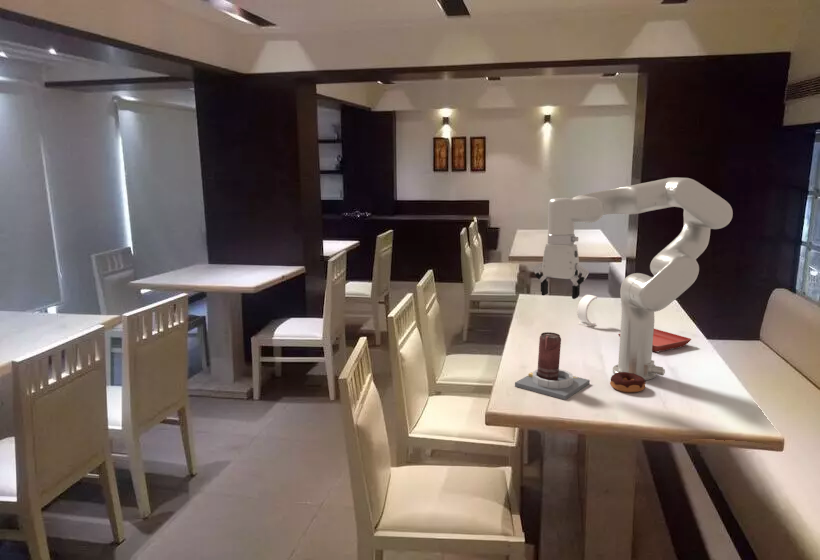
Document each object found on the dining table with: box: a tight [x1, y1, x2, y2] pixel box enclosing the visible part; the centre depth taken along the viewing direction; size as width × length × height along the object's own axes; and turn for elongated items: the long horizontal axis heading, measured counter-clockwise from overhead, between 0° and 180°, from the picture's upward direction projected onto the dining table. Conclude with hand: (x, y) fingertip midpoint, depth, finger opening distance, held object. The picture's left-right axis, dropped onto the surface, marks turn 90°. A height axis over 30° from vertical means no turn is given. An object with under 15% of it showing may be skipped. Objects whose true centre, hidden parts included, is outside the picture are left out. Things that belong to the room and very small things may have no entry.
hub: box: [514, 368, 591, 401], centre depth 174 cm, size 16×16×3 cm
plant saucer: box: [617, 328, 692, 353], centre depth 214 cm, size 18×18×3 cm
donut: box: [609, 372, 646, 393], centre depth 172 cm, size 10×10×4 cm
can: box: [536, 331, 562, 381], centre depth 174 cm, size 6×6×14 cm
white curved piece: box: [576, 294, 598, 328], centre depth 239 cm, size 5×6×12 cm
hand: (559, 296), depth 177 cm, fingers open, 9 cm apart
